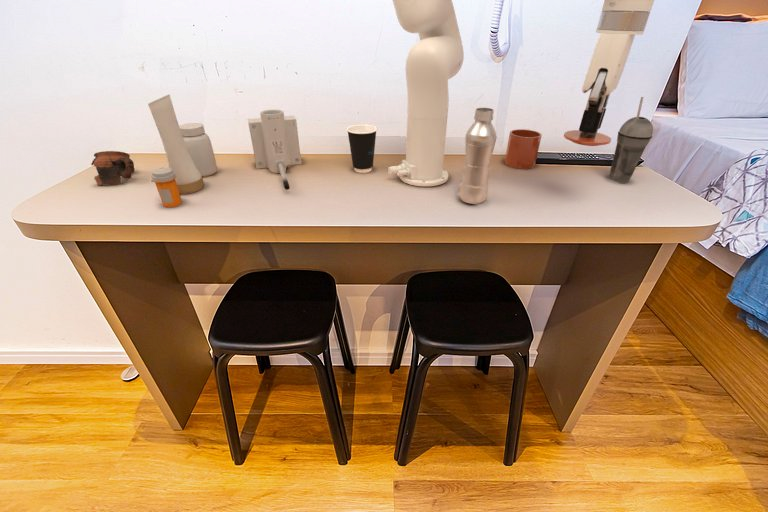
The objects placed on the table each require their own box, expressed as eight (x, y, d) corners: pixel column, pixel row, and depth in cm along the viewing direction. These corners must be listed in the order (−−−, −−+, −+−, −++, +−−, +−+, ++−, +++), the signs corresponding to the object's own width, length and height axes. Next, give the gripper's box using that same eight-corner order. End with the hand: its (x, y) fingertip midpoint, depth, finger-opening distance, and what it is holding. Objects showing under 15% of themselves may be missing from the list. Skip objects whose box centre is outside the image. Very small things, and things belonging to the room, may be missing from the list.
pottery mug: (85, 187, 95) (80, 153, 94) (122, 190, 104) (118, 159, 103) (119, 180, 91) (114, 145, 90) (155, 184, 100) (151, 151, 99)
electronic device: (299, 158, 112) (292, 104, 104) (314, 192, 92) (307, 128, 83) (255, 162, 109) (245, 107, 101) (261, 199, 88) (249, 133, 80)
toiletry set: (194, 168, 105) (171, 87, 94) (222, 167, 105) (202, 86, 94) (150, 208, 84) (115, 110, 73) (185, 208, 84) (155, 110, 73)
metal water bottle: (488, 197, 90) (502, 107, 79) (484, 209, 84) (499, 114, 73) (460, 193, 91) (471, 104, 80) (455, 205, 86) (465, 112, 75)
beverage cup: (639, 186, 95) (672, 101, 84) (607, 184, 96) (636, 99, 86) (629, 175, 101) (659, 94, 90) (599, 173, 102) (625, 93, 92)
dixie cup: (380, 173, 102) (380, 131, 96) (350, 176, 101) (349, 133, 95) (374, 163, 109) (373, 123, 103) (346, 165, 107) (344, 125, 101)
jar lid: (587, 150, 74) (599, 115, 71) (553, 138, 81) (562, 104, 77) (619, 145, 77) (631, 111, 74) (583, 133, 84) (593, 101, 80)
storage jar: (518, 170, 104) (524, 139, 100) (498, 161, 110) (503, 131, 106) (541, 166, 107) (548, 135, 102) (520, 157, 113) (526, 128, 109)
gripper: (606, 21, 75) (578, 119, 85) (589, 24, 64) (559, 135, 74) (650, 23, 71) (616, 124, 82) (640, 26, 60) (601, 143, 70)
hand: (589, 129), depth 78 cm, fingers closed on jar lid, 3 cm apart
